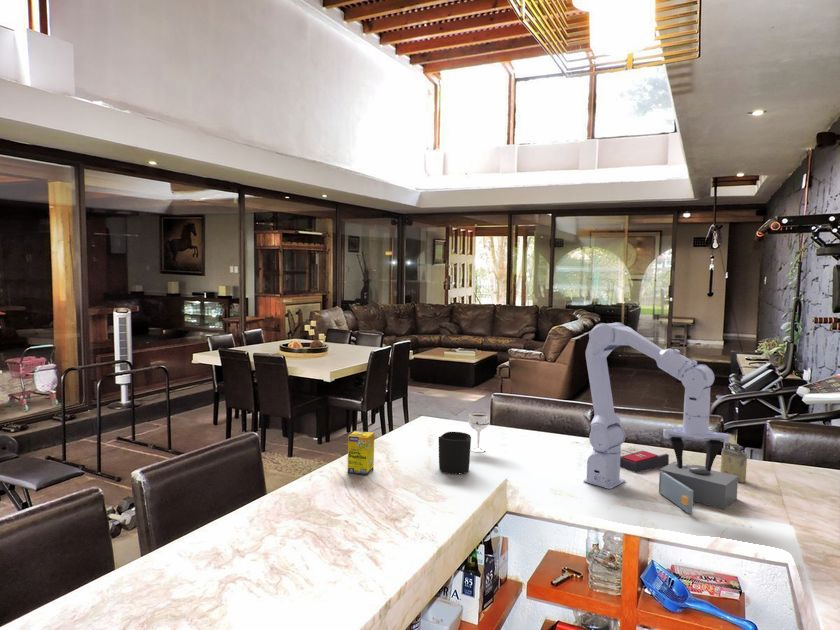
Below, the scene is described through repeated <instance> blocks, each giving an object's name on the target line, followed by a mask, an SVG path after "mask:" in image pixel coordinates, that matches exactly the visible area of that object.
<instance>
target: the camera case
mask: <svg viewBox="0 0 840 630" xmlns="http://www.w3.org/2000/svg"><path fill="white" fill-rule="evenodd" d="M660 471H663V472H665V473H666V474H668V475H670V476H671V477H673V478H674V479H676V480H677V481H679V482H681V483H682V484H684V485H685V486H687V487H688V488H690V489H692V490H693V502H697V503H700V504H703V505H707V506H710V507H714V508H718V509H721V508H722V509H721V510H726V509H727V508H728V507H729V506H730V505H732V504H733V503H734V502H735V501H736V500H737V499H738V487H739V486H738V485H739V484H738V483H739V482H738V476H736V475H731V474H727V473H722V472H720V471H718V470H717V471H716V470H713V469H711V471H707V470H706V468H705V465H699V464H686V463H684V462H682V469H679V468H678V466H677V461H671V463H669V465H667V466H663V467H661V468H659V472H660ZM725 508H726V509H725Z"/></svg>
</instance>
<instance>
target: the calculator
mask: <svg viewBox="0 0 840 630" xmlns="http://www.w3.org/2000/svg"><path fill="white" fill-rule="evenodd" d="M669 456H670V455H669V453H667V452H664V451H660V450H657V449H654V448H650V447H647V446H644V445H640V444H638V445H636V446H629V447H625V448H621V456H620V468H623V469H626V470H627V471H631V472H634V473H640V472H644V471H648V470H652V469H657V468H663V467H665V466H667V465H669V464H670V463H669V461H670V458H669Z"/></svg>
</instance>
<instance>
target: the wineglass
mask: <svg viewBox="0 0 840 630" xmlns="http://www.w3.org/2000/svg"><path fill="white" fill-rule="evenodd" d="M468 416H469V418H468V425H469V426H470V427H471V428H472V429H473V430H475V431H476V432H477V433H476V435H477V436H476V437H477V448H476V447H475V448H473V449H474V450H476V451H480V450H482V449H483V448H480V434H481V432H482V431H483V430H485V429H486V428H487V427H488V426H489V425H490V418H489V417H490V413H487V412H484V411H483V412H482V411H473V412H472V411H471V412H469V413H468Z"/></svg>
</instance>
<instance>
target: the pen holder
mask: <svg viewBox="0 0 840 630" xmlns="http://www.w3.org/2000/svg"><path fill="white" fill-rule="evenodd" d="M471 443H472V436H471V434H470V433H466V432H461V431H446V432H445V433H443V434H442V435H440V436H438V467H439V471H441V472H442V473H444V472H445V474H448V473H450V475H460V474H459V473H463V474H465V473H464V472H466V473H467V472H468V471H469V469H470V463H471V462H470V460H471Z"/></svg>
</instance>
